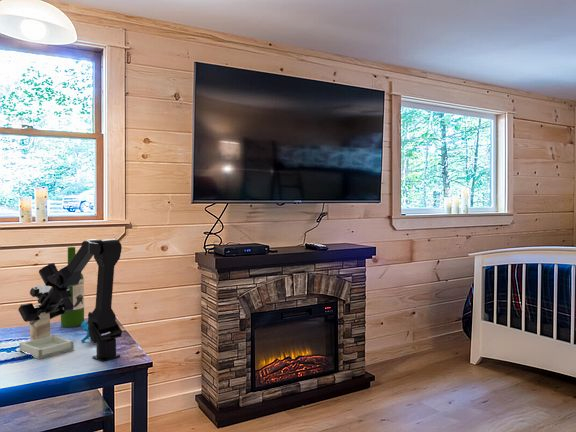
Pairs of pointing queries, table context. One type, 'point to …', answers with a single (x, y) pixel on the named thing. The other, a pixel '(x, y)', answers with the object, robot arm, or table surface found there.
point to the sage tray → (46, 346)
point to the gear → (85, 325)
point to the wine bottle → (74, 300)
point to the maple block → (40, 326)
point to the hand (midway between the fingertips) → (38, 321)
